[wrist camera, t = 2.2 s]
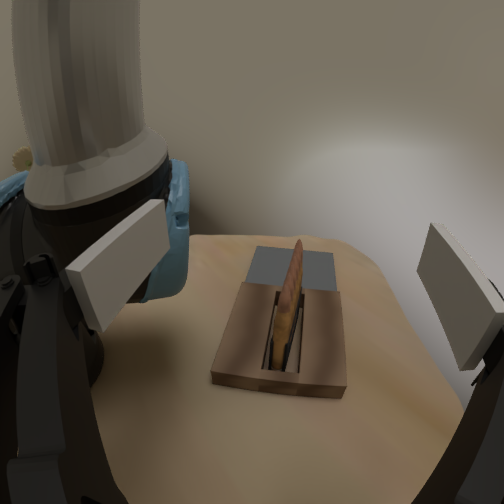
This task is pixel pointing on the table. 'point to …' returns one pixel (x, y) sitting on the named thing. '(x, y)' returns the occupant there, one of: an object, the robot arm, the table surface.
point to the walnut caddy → (257, 335)
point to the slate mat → (277, 264)
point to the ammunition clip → (287, 312)
